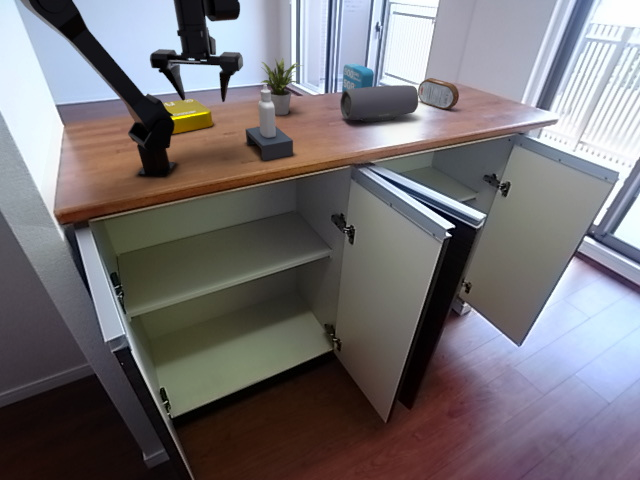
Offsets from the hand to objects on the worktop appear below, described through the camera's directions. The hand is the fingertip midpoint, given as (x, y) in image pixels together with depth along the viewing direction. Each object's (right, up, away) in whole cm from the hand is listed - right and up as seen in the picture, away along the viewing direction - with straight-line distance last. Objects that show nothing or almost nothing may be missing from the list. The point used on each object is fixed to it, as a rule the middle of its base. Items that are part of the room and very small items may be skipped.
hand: (203, 100), depth 86 cm
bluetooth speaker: (+45, +6, +32) cm, 56 cm away
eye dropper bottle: (+14, -5, +9) cm, 17 cm away
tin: (+67, +15, +45) cm, 82 cm away
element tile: (-14, +2, +24) cm, 28 cm away
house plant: (+15, +8, +34) cm, 38 cm away
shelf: (+14, -8, +11) cm, 20 cm away
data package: (+39, +15, +44) cm, 61 cm away
